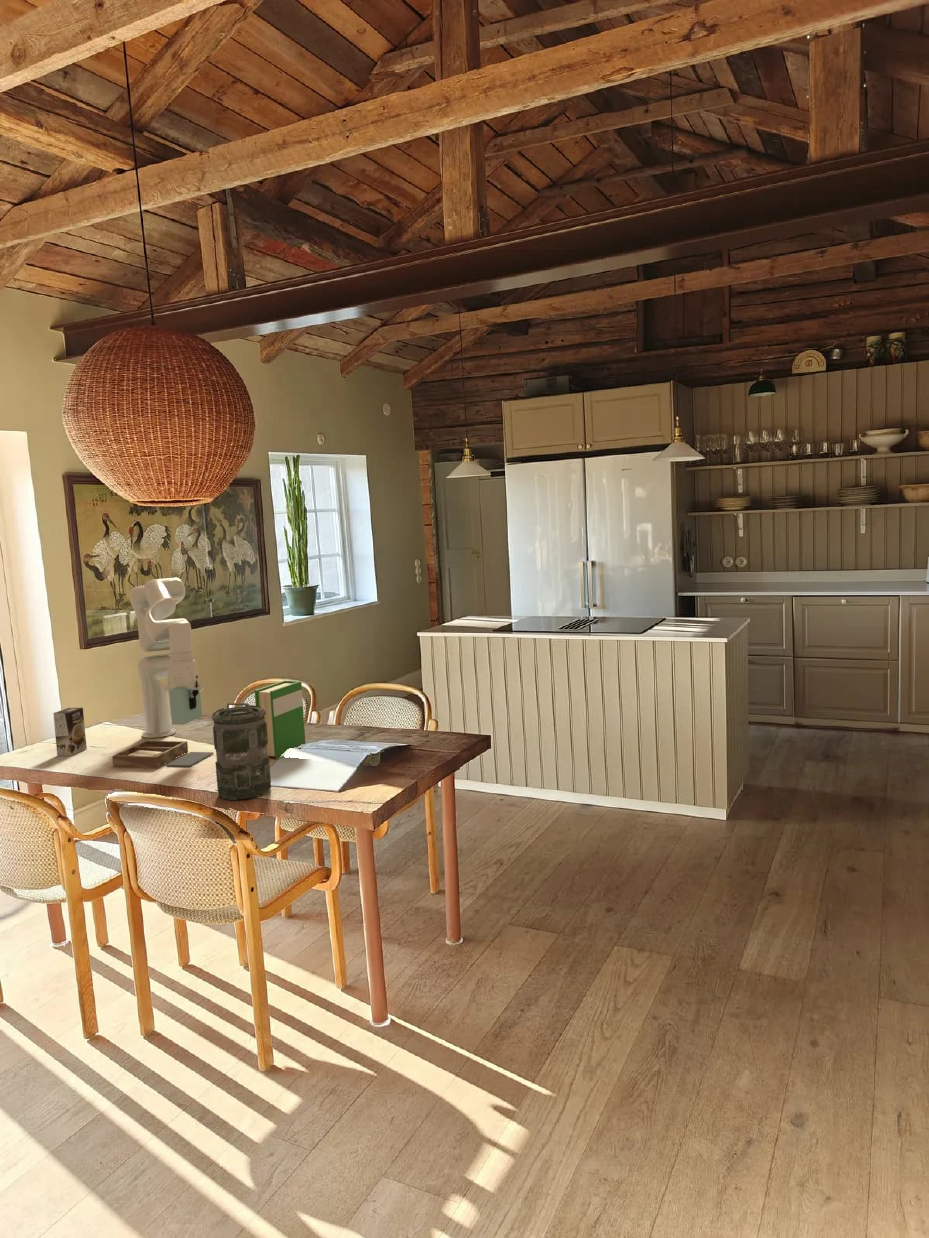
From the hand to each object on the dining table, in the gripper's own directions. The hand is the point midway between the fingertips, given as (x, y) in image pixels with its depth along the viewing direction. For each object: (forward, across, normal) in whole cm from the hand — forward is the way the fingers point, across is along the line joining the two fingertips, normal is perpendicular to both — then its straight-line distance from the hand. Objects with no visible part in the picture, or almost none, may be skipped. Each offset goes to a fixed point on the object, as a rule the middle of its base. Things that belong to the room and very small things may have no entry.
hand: (186, 707), depth 301 cm
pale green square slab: (+4, 0, 0) cm, 4 cm away
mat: (+19, 0, 0) cm, 19 cm away
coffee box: (+19, -52, +6) cm, 56 cm away
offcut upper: (+17, -15, -4) cm, 23 cm away
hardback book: (+19, +29, +13) cm, 37 cm away
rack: (+19, -15, 0) cm, 24 cm away
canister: (+19, +37, -32) cm, 52 cm away
